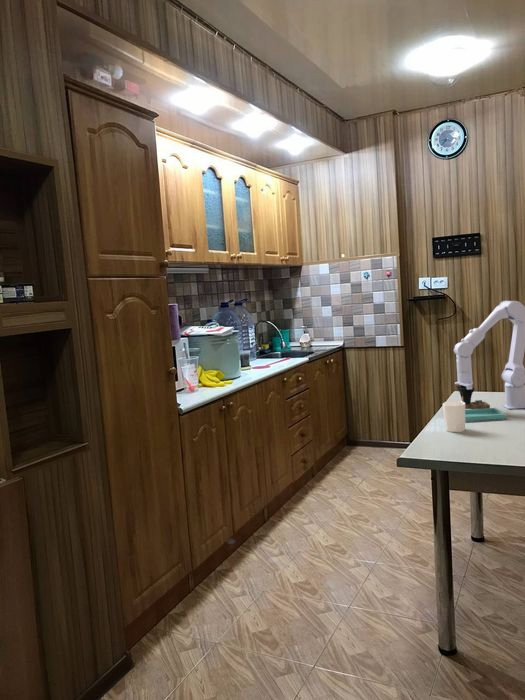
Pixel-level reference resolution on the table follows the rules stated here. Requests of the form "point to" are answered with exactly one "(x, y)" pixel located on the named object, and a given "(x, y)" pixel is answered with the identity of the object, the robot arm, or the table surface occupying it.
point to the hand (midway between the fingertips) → (466, 403)
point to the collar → (474, 406)
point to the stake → (478, 402)
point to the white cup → (454, 416)
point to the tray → (483, 414)
